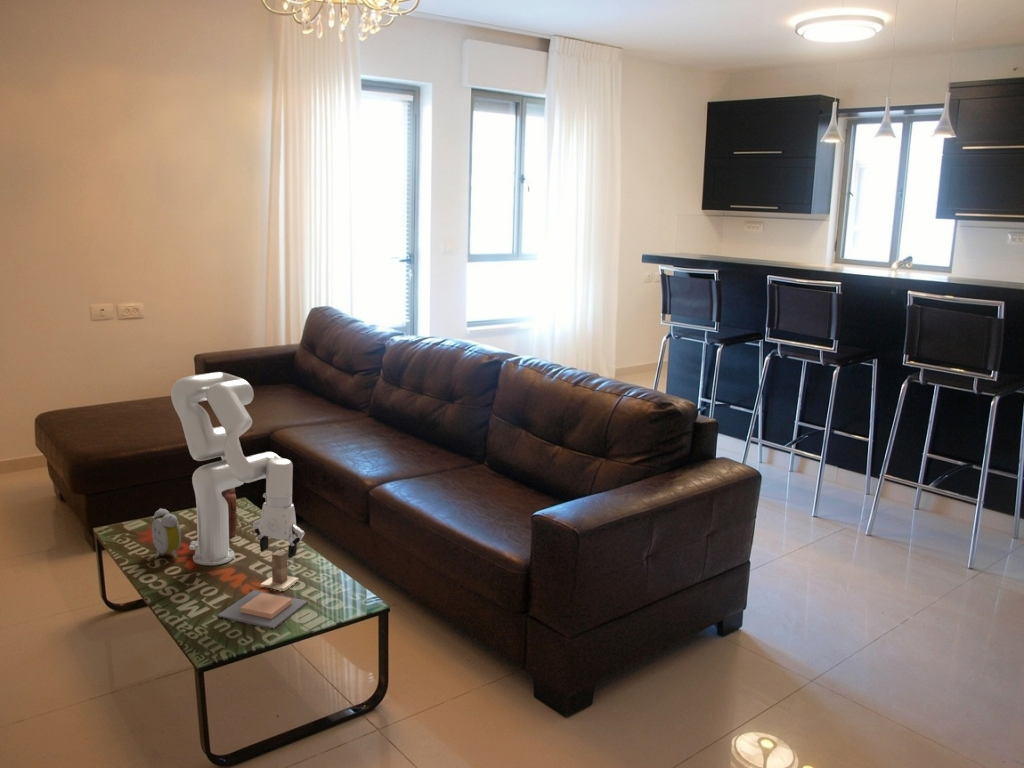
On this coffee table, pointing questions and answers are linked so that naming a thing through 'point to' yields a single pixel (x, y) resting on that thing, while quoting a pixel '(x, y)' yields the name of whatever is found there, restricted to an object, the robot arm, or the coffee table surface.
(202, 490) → the robot arm
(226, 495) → the wooden figurine
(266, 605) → the tile
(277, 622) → the mat
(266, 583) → the square post stand
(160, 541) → the alarm clock
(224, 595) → the coffee table surface
